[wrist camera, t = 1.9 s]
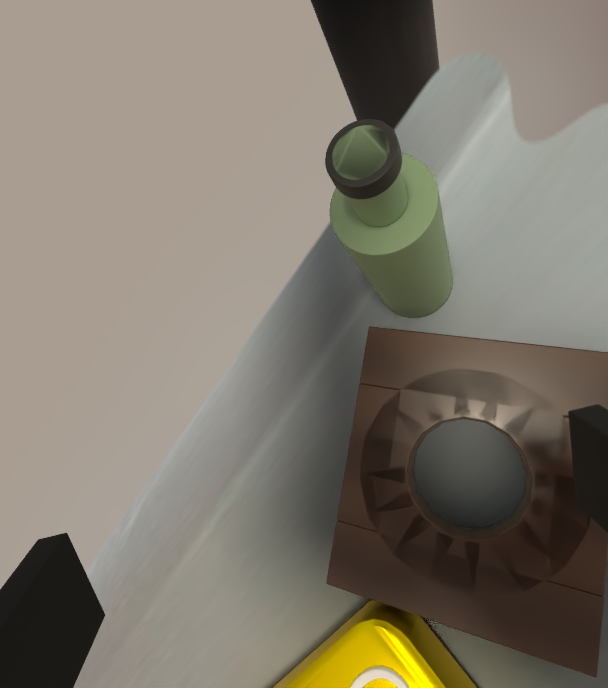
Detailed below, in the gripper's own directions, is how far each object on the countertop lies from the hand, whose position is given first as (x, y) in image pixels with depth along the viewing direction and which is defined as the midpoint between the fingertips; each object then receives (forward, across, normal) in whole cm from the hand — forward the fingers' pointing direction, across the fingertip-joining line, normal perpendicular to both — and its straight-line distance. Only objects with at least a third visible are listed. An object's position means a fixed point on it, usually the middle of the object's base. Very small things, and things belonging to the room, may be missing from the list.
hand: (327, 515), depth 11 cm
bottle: (+21, +9, +1) cm, 23 cm away
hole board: (+14, +8, -10) cm, 19 cm away
